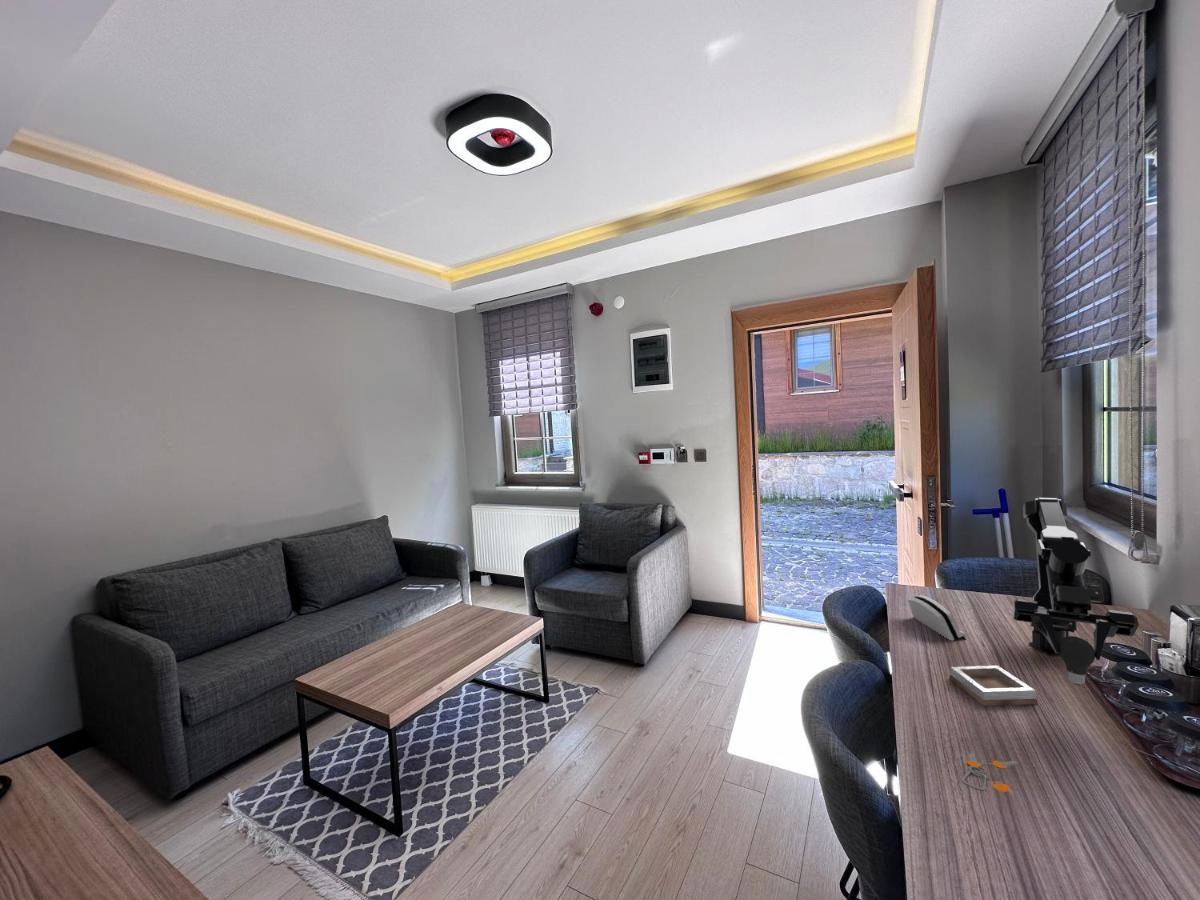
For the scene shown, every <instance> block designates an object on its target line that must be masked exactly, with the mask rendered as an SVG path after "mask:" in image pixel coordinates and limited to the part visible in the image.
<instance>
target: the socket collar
mask: <svg viewBox="0 0 1200 900" xmlns="http://www.w3.org/2000/svg"><path fill="white" fill-rule="evenodd" d="M950 675H951V676H953V677H954V678H955V679H956V680H958V681H959V682H960V683H962V684H963V685H964V686H965V687H967V688H968V689H969V690H971V691H972V692H973V693H974V694H976V695H977V696H978V697H980V698H981V699H982V700H983V701H989V700H1022V699H1035V698H1036V689H1034V688H1032V687H1031V686H1030V685H1028V684H1027V683H1025V682H1024V681H1022V680H1021V679H1019V678H1017V677H1016V676H1015V675H1013V674H1011V673H1010V672H1008V671H1006V670H1005V669H1003V668H1002V667H1001V666H999V665H975V666H974V665H973V666H970V665H967V666H950ZM991 676H996V677H998V678H999V679H1001V680H1002V681H1004V682H1005V683H1007V684H1008V685H1010V686H1011V687H1012V688H990V689H985V688H984V687H982V686H981V685H979V684H978V683H977V682H975V681H974V680H973V679H971V678H970V677H991Z"/></svg>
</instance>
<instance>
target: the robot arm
mask: <svg viewBox="0 0 1200 900" xmlns="http://www.w3.org/2000/svg"><path fill="white" fill-rule="evenodd" d="M1022 515H1023V519H1026V525H1027V527H1028V528H1029V529H1030V530H1031V531H1032V533H1033V534H1034V535H1035V549H1036V562H1037V563H1036V564H1037V577H1038V578H1037V579H1038V590H1037V591H1036V592H1035V594H1034V595H1033V597H1032V599H1031V600H1030V599H1029V600H1028V599H1019V598H1016V599H1014V601H1013V604H1012V605H1013V606H1012V613H1013V614H1012V616H1013V620H1014V621H1017V622H1025V623H1029V626H1030V627H1033V630H1032V631H1031V636H1032V637H1031V641H1029V642H1028V644H1029V645H1030V646H1031V647H1033V648H1035V649H1037V650H1038V651H1040V652H1042V653H1045V654H1046V655H1047V656H1060V655H1059V647H1058V643H1059V641H1060V640H1061V639H1062V638H1065V637H1068V636H1070V635H1069V633H1070V632H1071V633H1073V634H1074V633H1075V631H1076V632H1077V624H1078V623H1085V624H1090V625H1091V624H1093V625H1094V626H1095V629H1094V631H1093V649H1094V651H1095V660H1096V661H1100V659H1101V656H1102V653H1103V652H1102V651H1103V649H1104V646H1105V645H1104V644H1105V641H1106V640H1107V638H1114V637H1115V636H1117V635H1118V636H1125V637H1133V636H1134V635H1135V633H1136V632H1137V630H1138V628H1139V626H1140V625H1139V621H1138V617H1137V616H1136V615H1135V614H1134V613H1133V612H1130V611H1129V612H1128V611H1121V610H1112V609H1107V611H1106V613H1105V615H1102V614H1094V613H1090V612H1089V611H1092V609H1093V607H1092V604H1093V603H1103V602H1104V600H1105V599H1104V597H1105V596H1104V591H1103V588H1102V585H1095V584H1094V585H1093V584H1089V585H1088V586H1087V587H1085V584H1084V579H1083V574H1084V572H1085V571H1086V567H1087V564H1088V561H1089V557H1092V555H1091V553H1092V552H1091V550H1090V549H1089V548H1088V547H1087V546H1086V545H1085V543H1084V542H1083V541H1081V540H1080V538H1079V536H1078V534H1077V533H1076V532H1075V531H1072V530H1070V529H1069V528H1068V526H1067V523H1066V519H1068V507H1067V503H1065V502H1063V501H1062V499H1060V498H1057V497H1037V498H1034V500H1030V501H1029V500H1028V501H1026V502H1024V504H1023V506H1022ZM1092 602H1093V603H1092ZM1077 622H1078V623H1077Z"/></svg>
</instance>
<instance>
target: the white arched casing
mask: <svg viewBox="0 0 1200 900" xmlns="http://www.w3.org/2000/svg"><path fill="white" fill-rule="evenodd" d="M907 602H908V605H909V609H910V611H911V614H912V617H913V618H914V617H915V618H916V619H915V618H914V619H915V620H917V619H918V620H919V622H920V621H921V622H922V623H921V622H920V623H921V624H923V623H924V624H925V626H926V625H927V626H926V627H928V628H929V627H930V630H932V629H933V631H934V630H935V631H936V633H937V632H938V634H939V635H940V634H941V635H940V636H941V637H943V636H944V638H945V639H946V638H947V639H946V640H948V639H949V640H948V641H950V640H952V641H955V638H958V639H959V638H962V637H963V638H962V639H964V638H965V639H964V640H966V639H967V640H968V637H967V635H966V633H965V632H963V631H961V630H960V628H959V627H958V624H957V622H956V620H955V618H954V616H953V614H952V613H951V612H950V611H949V610H948V609H947V608H945V607H944V606H943V605H941V603H939V602H938V601H936V600H934V599H932V598H930V597H928V596H925V595H921V594H920V595H915V596H914V597H910V598H909V599H908V600H907ZM918 620H917V621H918ZM924 624H923V625H924ZM935 631H934V632H935Z"/></svg>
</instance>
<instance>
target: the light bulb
mask: <svg viewBox="0 0 1200 900" xmlns="http://www.w3.org/2000/svg"><path fill="white" fill-rule="evenodd" d="M1058 647H1059V655H1058V656H1059V657H1060V658H1061V659H1062V660H1063V662H1064V664H1065V667H1066V671H1067V678H1068V680H1069V682H1071V683H1072V684H1073V685H1074V686H1080V685H1084V684H1085V682H1086V680H1085V679H1086V673H1087V670H1088V669H1089V667H1091V665H1092V664H1093V663H1094V661H1095V660H1096V657H1095V651H1094V646H1092V644H1091V643H1089V642H1088V641H1087V640H1086V639H1084V638H1081V637H1078V636H1074V635H1069V636H1068V637H1065V638H1062V639H1061V640H1060V641H1059V643H1058Z"/></svg>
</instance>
